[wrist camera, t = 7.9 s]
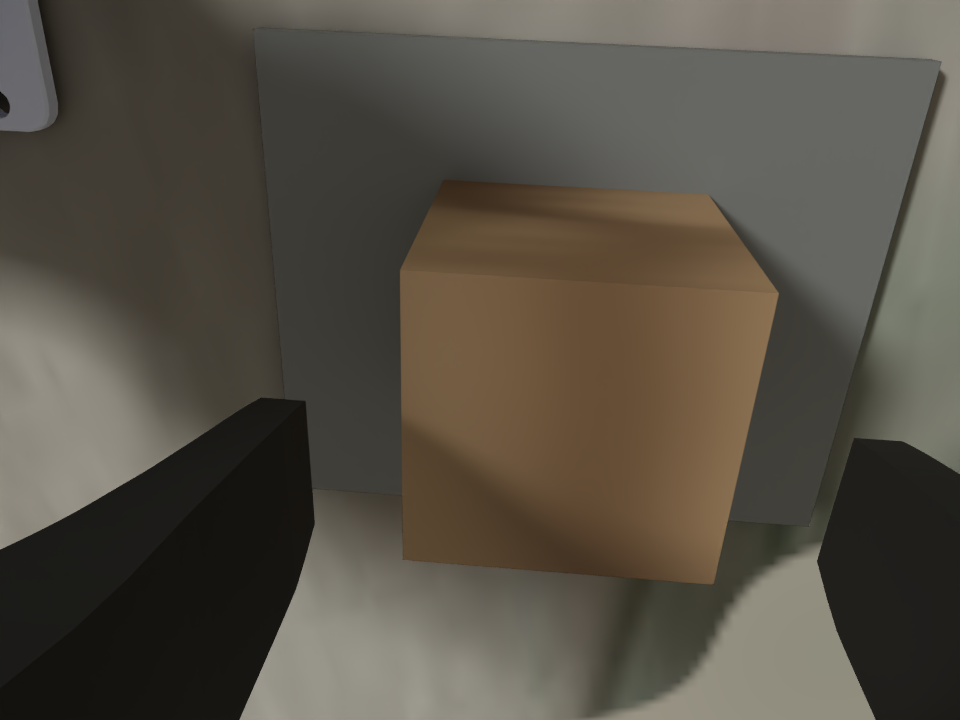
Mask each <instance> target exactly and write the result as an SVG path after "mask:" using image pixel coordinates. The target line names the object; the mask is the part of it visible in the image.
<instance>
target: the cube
mask: <svg viewBox="0 0 960 720" xmlns="http://www.w3.org/2000/svg"><path fill="white" fill-rule="evenodd" d="M778 296H779V293H778V291H777V290H776V289H775V287H774V286H773V284H772V283H771V282H770V280H769V279H768V277H767V276H766V274H765V273H764V272H763V270H762V269H761V267H760V266H759V265H758V263H757V262H756V260H755V259H754V258H753V256H752V255H751V253H750V252H749V251H748V249H747V248H746V246H745V245H744V244H743V242H742V241H741V239H740V238H739V237H738V235H737V234H736V232H735V231H734V230H733V228H732V227H731V225H730V224H729V223H728V221H727V220H726V218H725V217H724V216H723V214H722V213H721V211H720V210H719V209H718V207H717V206H716V204H715V203H714V202H713V200H712V199H711V197H710V196H709V195H708V194H691V193H673V192H655V191H637V190H619V189H601V188H583V187H565V186H547V185H529V184H511V183H493V182H475V181H457V180H443V182H442V184H441V186H440V188H439V190H438V192H437V195H436V197H435V199H434V201H433V203H432V205H431V207H430V209H429V211H428V213H427V215H426V217H425V219H424V221H423V224H422V226H421V228H420V230H419V232H418V234H417V236H416V238H415V240H414V242H413V244H412V246H411V248H410V250H409V253H408V255H407V257H406V259H405V261H404V263H403V265H402V267H401V269H400V318H401V419H402V521H403V560H412V561H424V562H437V563H449V564H462V565H474V566H486V567H499V568H511V569H524V570H536V571H548V572H561V573H573V574H586V575H598V576H611V577H623V578H635V579H648V580H660V581H673V582H685V583H698V584H710V585H714V580H715V576H716V571H717V567H718V562H719V558H720V553H721V549H722V545H723V540H724V536H725V531H726V527H727V522H728V518H729V513H730V509H731V505H732V500H733V496H734V491H735V487H736V482H737V478H738V473H739V469H740V465H741V460H742V456H743V451H744V447H745V442H746V438H747V433H748V429H749V425H750V420H751V416H752V411H753V407H754V402H755V398H756V393H757V389H758V385H759V380H760V376H761V371H762V367H763V362H764V358H765V353H766V349H767V345H768V340H769V336H770V331H771V327H772V322H773V318H774V313H775V309H776V305H777V300H778Z"/></svg>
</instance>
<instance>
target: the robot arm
mask: <svg viewBox="0 0 960 720" xmlns="http://www.w3.org/2000/svg"><path fill="white" fill-rule="evenodd" d="M0 92H1V93H3V94H4V95H5V96H6V97H7V99H8V101H9V104H10V112H9V114H7V113H5V112H4V111H3V110H2V109H0V130H3V131H21V132H32V131H38V130H41V129H45V128H48V127H49V126H50V125H51V124H53V123H54V122H55V120H56V117H57V115H58V101H57V96H56V91H55V86H54V81H53V76H52V71H51V66H50V61H49V56H48V51H47V46H46V41H45V36H44V31H43V26H42V21H41V16H40V10H39V5H38V0H0ZM314 524H315V520H314V507H313V493H312V480H311V466H310V452H309V439H308V425H307V412H306V401H301V400H287V399H272V398H260V399H258V400H256V401H254V402H253V403H251V404H249V405H247V406H246V407H244V408H243V409H241V410H239V411H238V412H236V413H235V414H233V415H232V416H230V417H229V418H227V419H225V420H224V421H222V422H221V423H219V424H218V425H216V426H215V427H213V428H212V429H210V430H209V431H207V432H206V433H204V434H203V435H201V436H200V437H198V438H197V439H195V440H194V441H192V442H190V443H189V444H187V445H186V446H184V447H183V448H181V449H180V450H178V451H176V452H175V453H173V454H172V455H170V456H169V457H167V458H166V459H164V460H163V461H161V462H159V463H158V464H156V465H155V466H153V467H152V468H150V469H148V470H147V471H145V472H143V473H142V474H140V475H138V476H137V477H135V478H133V479H131V480H130V481H128V482H126V483H125V484H123V485H121V486H119V487H118V488H116V489H114V490H113V491H111V492H109V493H108V494H106V495H104V496H102V497H101V498H99V499H97V500H96V501H94V502H92V503H90V504H89V505H87V506H85V507H84V508H82V509H80V510H78V511H76V512H75V513H73V514H71V515H69V516H67V517H65V518H63V519H62V520H60V521H58V522H56V523H54V524H52V525H50V526H48V527H46V528H44V529H42V530H40V531H38V532H36V533H34V534H32V535H30V536H28V537H26V538H24V539H22V540H20V541H18V542H15V543H13V544H11V545H9V546H7V547H5V548H3V549H1V550H0V720H239V719H240V717H241V715H242V712H243V710H244V708H245V705H246V703H247V701H248V699H249V696H250V694H251V692H252V690H253V687H254V685H255V683H256V680H257V678H258V676H259V674H260V671H261V669H262V667H263V664H264V662H265V660H266V658H267V655H268V653H269V651H270V648H271V646H272V644H273V642H274V639H275V637H276V635H277V632H278V630H279V628H280V625H281V623H282V621H283V618H284V616H285V614H286V611H287V609H288V607H289V604H290V602H291V600H292V597H293V595H294V592H295V590H296V587H297V584H298V581H299V577H300V574H301V571H302V567H303V564H304V561H305V557H306V553H307V550H308V546H309V542H310V539H311V535H312V531H313V528H314ZM817 563H818V566H819V570H820V574H821V578H822V581H823V585H824V589H825V593H826V597H827V600H828V603H829V607H830V610H831V613H832V617H833V620H834V623H835V626H836V630H837V632H838V635H839V637H840V640H841V642H842V644H843V647H844V649H845V651H846V653H847V656H848V658H849V660H850V663H851V665H852V667H853V670H854V672H855V674H856V676H857V679H858V681H859V683H860V686H861V687H862V690H863V692H864V694H865V696H866V699H867V701H868V703H869V706H870V708H871V710H872V712H873V714H874V717H875V719H876V720H960V474H958V473H957V472H955V471H953V470H952V469H950V468H949V467H947V466H945V465H944V464H942V463H940V462H939V461H937V460H936V459H934V458H932V457H930V456H929V455H927V454H925V453H924V452H922V451H920V450H918V449H916V448H914V447H912V446H910V445H909V444H907V443H905V442H902V441H889V440H874V439H860V438H854V440H853V443H852V447H851V450H850V453H849V457H848V460H847V463H846V467H845V470H844V473H843V477H842V480H841V483H840V487H839V490H838V493H837V497H836V500H835V503H834V506H833V510H832V513H831V516H830V520H829V523H828V526H827V530H826V533H825V536H824V540H823V543H822V546H821V550H820V553H819V556H818V560H817Z"/></svg>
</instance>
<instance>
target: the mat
mask: <svg viewBox="0 0 960 720" xmlns="http://www.w3.org/2000/svg"><path fill="white" fill-rule="evenodd" d="M253 36H254V48H255V60H256V71H257V83H258V94H259V106H260V118H261V129H262V141H263V152H264V164H265V176H266V187H267V199H268V210H269V222H270V234H271V245H272V257H273V268H274V280H275V292H276V303H277V315H278V326H279V338H280V350H281V361H282V373H283V384H284V396H285V399H287V400H301V401H306V412H307V425H308V439H309V452H310V466H311V480H312V489H325V490H338V491H351V492H364V493H377V494H390V495H402V419H401V318H400V269H401V267H402V265H403V263H404V261H405V259H406V257H407V255H408V253H409V250H410V248H411V246H412V244H413V242H414V240H415V238H416V236H417V234H418V232H419V230H420V228H421V226H422V224H423V221H424V219H425V217H426V215H427V213H428V211H429V209H430V207H431V205H432V203H433V201H434V199H435V197H436V195H437V192H438V190H439V188H440V186H441V184H442V182H443V180H457V181H475V182H493V183H511V184H529V185H547V186H565V187H583V188H601V189H619V190H637V191H655V192H673V193H691V194H708V195H709V196H710V197H711V199H712V200H713V202H714V203H715V204H716V206H717V207H718V209H719V210H720V211H721V213H722V214H723V216H724V217H725V218H726V220H727V221H728V223H729V224H730V225H731V227H732V228H733V230H734V231H735V232H736V234H737V235H738V237H739V238H740V239H741V241H742V242H743V244H744V245H745V246H746V248H747V249H748V251H749V252H750V253H751V255H752V256H753V258H754V259H755V260H756V262H757V263H758V265H759V266H760V267H761V269H762V270H763V272H764V273H765V274H766V276H767V277H768V279H769V280H770V282H771V283H772V284H773V286H774V287H775V289H776V290H777V291H778V293H779V296H778V300H777V305H776V309H775V313H774V318H773V322H772V327H771V331H770V336H769V340H768V345H767V349H766V353H765V358H764V362H763V367H762V371H761V376H760V380H759V385H758V389H757V393H756V398H755V402H754V407H753V411H752V416H751V420H750V425H749V429H748V433H747V438H746V442H745V447H744V451H743V456H742V460H741V465H740V469H739V473H738V478H737V482H736V487H735V491H734V496H733V500H732V505H731V509H730V513H729V518H728V521H740V522H753V523H766V524H779V525H792V526H805V527H809V524H810V521H811V517H812V514H813V510H814V507H815V503H816V500H817V496H818V493H819V489H820V486H821V482H822V479H823V475H824V472H825V468H826V465H827V461H828V458H829V454H830V451H831V447H832V444H833V440H834V437H835V433H836V430H837V426H838V423H839V419H840V416H841V412H842V409H843V405H844V402H845V398H846V395H847V391H848V388H849V384H850V381H851V377H852V374H853V370H854V367H855V363H856V360H857V356H858V353H859V349H860V346H861V342H862V339H863V335H864V332H865V328H866V325H867V321H868V318H869V314H870V311H871V307H872V304H873V300H874V297H875V293H876V290H877V286H878V283H879V279H880V276H881V272H882V269H883V265H884V262H885V258H886V255H887V251H888V248H889V244H890V241H891V237H892V234H893V230H894V227H895V223H896V220H897V216H898V213H899V209H900V206H901V202H902V199H903V195H904V192H905V188H906V185H907V181H908V178H909V174H910V171H911V167H912V164H913V160H914V157H915V153H916V150H917V146H918V143H919V139H920V136H921V132H922V129H923V125H924V122H925V118H926V115H927V111H928V108H929V104H930V101H931V97H932V94H933V90H934V87H935V83H936V80H937V76H938V73H939V69H940V66H941V61H937V60H932V59H916V58H894V57H873V56H852V55H831V54H809V53H788V52H767V51H746V50H724V49H703V48H682V47H660V46H639V45H618V44H597V43H575V42H554V41H533V40H512V39H490V38H469V37H448V36H427V35H405V34H384V33H363V32H342V31H320V30H299V29H278V28H256V29H253Z"/></svg>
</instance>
